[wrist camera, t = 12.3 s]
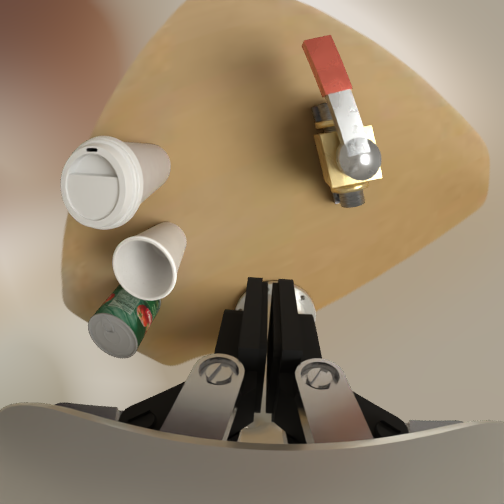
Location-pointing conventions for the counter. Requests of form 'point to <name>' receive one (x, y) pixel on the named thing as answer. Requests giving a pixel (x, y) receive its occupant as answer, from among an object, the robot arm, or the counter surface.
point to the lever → (342, 110)
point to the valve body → (327, 144)
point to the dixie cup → (150, 261)
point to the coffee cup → (111, 180)
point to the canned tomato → (122, 323)
